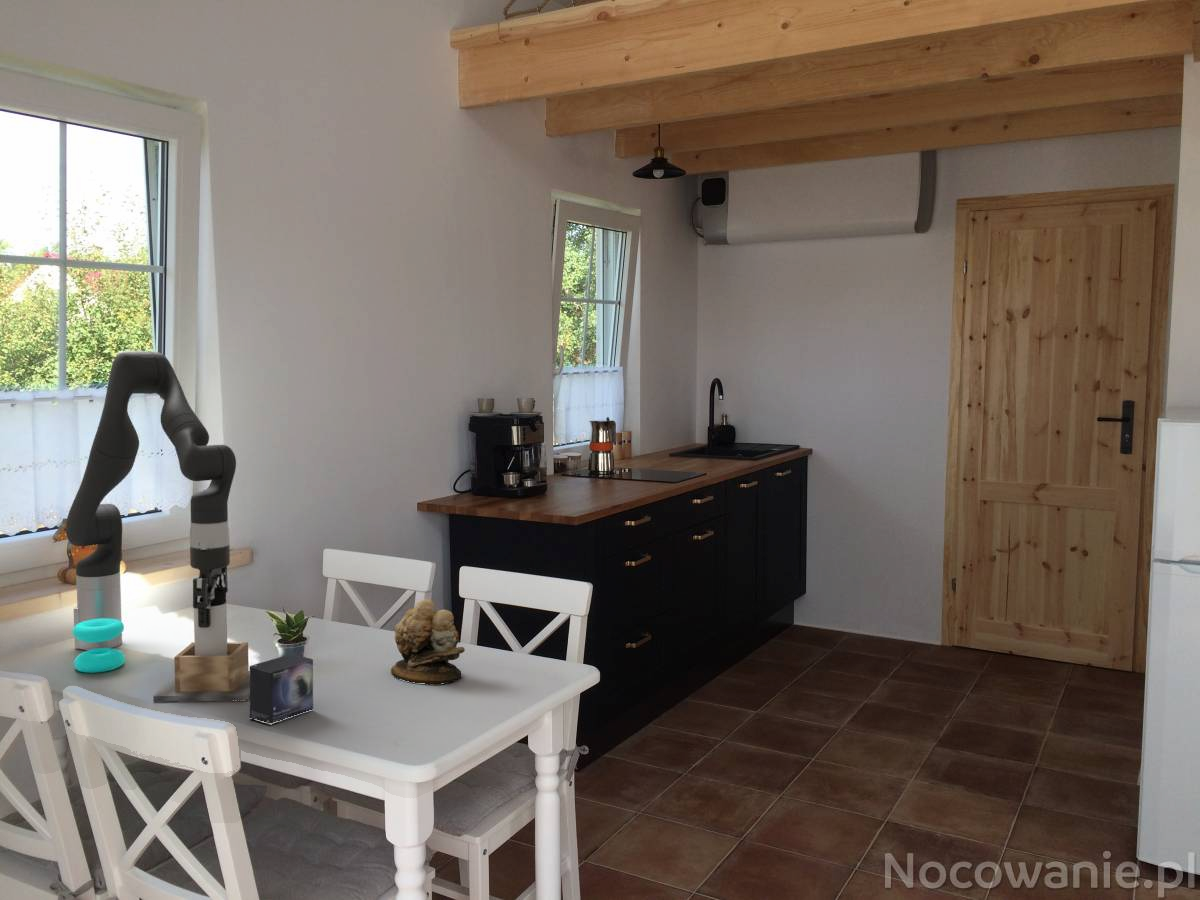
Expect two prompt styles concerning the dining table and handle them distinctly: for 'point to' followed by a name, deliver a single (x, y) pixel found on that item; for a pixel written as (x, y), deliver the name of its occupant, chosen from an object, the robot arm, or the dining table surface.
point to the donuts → (101, 656)
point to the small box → (281, 688)
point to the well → (209, 676)
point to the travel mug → (213, 628)
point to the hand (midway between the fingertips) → (211, 621)
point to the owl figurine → (427, 645)
